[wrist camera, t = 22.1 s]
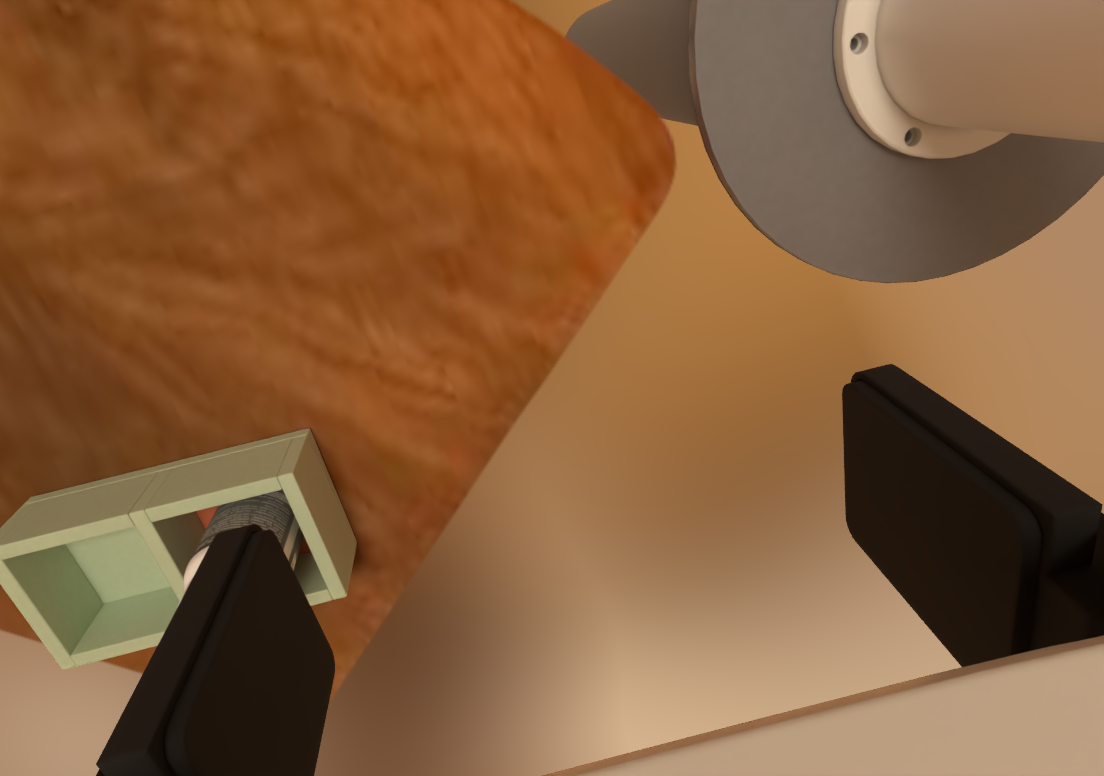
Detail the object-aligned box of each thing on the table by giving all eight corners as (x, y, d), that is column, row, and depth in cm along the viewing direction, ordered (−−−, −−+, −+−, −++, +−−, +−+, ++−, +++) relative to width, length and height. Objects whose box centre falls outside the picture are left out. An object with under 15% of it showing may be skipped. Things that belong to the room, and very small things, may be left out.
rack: (309, 427, 38) (292, 472, 33) (357, 542, 41) (347, 596, 37) (30, 496, 37) (-25, 551, 33) (102, 607, 41) (61, 670, 36)
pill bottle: (203, 494, 37) (141, 599, 30) (283, 463, 37) (242, 561, 30) (247, 558, 40) (201, 671, 32) (324, 529, 39) (295, 636, 32)
